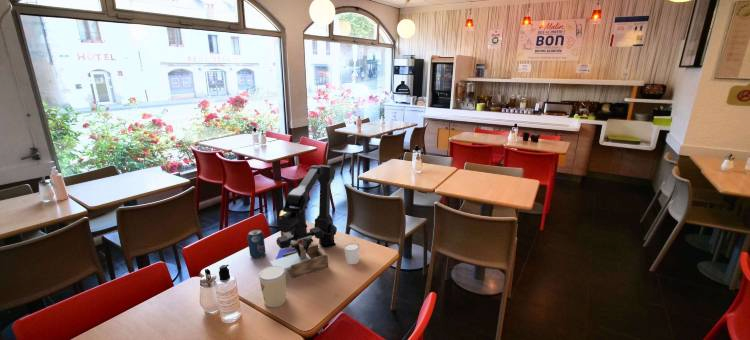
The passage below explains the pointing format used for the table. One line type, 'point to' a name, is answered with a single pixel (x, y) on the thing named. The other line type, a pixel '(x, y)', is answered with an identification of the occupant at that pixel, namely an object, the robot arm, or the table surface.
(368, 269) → the table surface
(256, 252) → the soda can
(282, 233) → the baking soda box
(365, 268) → the table surface
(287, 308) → the table surface
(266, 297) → the coffee cup
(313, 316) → the table surface
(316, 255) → the wooden box
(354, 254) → the shot glass
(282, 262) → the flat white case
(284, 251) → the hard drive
